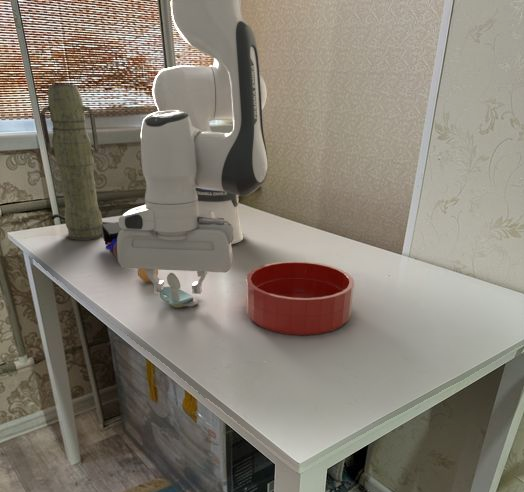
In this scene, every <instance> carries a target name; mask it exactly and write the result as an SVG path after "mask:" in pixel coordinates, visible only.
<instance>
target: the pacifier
mask: <svg viewBox="0 0 524 492" xmlns="http://www.w3.org/2000/svg"><path fill="white" fill-rule="evenodd" d="M166 281H167V282H166V283H167V284H168V286H164V291H163V292H158V293H159V298H160V299H161V300H162V301H164V302H166V303H169V305H170V306H172V307H173V308H183V307H194V306H196V305H198V304H199V300H198V298H197V296H194V295H193V294H190V293H188V292H185V291H184V290H181V283H180V280H179V278H178V276H177V275H176V274H175V273H174V272H169V274H167V277H166Z"/></svg>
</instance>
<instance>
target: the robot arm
mask: <svg viewBox="0 0 524 492" xmlns="http://www.w3.org/2000/svg"><path fill="white" fill-rule="evenodd" d="M170 8H171V16H172V21H173V24H174V27H175V29H176V30H177V32H178V33H179V35H180V36H181V37H182V39H183V40H184V41H185V42H186V43H187V44H189V46H191V47H192V48H194V49H195V50H197V51H199V52H201V53H202V54H204V55H206V56H209V57H210V58H212V59H213V60H214V61H213V64H212V65H176V66H172V67H167V68H163V69H161V70H160V71H159V72H158V73H157V75H156V77H155V78H154V81H153V86H152V97H153V101H154V104H155V106H156V107H157V110H158V111H155V112H152V113H149V114H148V115H147V116H145V117H144V118H143V120H142V123H141V131H140V161H141V170H142V171H141V172H142V175H143V178H144V181H145V193H144V204H143V205H140V206H136V207H132V208H131V209H129V210H126V211H125V212H124V213H123V214H121V215H120V217H119V218H118V222H119V226H120V228H121V229H122V230H121V231H120V232H119V234H118V237H117V257H118V258H117V257H116V258H117V262H118V264H119V265H120V266H121V268H123V269H133V270H134V269H135V270H136V269H137V270H138V269H146V274H147V276H148V277H149V279H150V280H151V281H152V282H151V283H152V284H153V291H154V293H159V292H163V291H164V287H165V280H161V279H160V278H159V277H158V276H157V275H156V274H155V272H156V271H157V270H158V271H161V270H162V271H183V272H196V273H197V274H196V275H197V277H200V278H199V279H198V281H193V283H192V284H191V289H192V291H191V292H192V295H193V294H194V295H195V294H196V295H201V294H202V291H203V282H204V280H205V278H206V277H207V274H208V273H227V272H229V271H230V270H231V268H232V267H233V264H234V257H233V248H232V245H235V244H237V243H240V242H242V241H243V239H244V236H243V233H242V228H241V224H240V217H239V211H238V205H239V203H240V202H239V199H240V198H239V197H240V196H241V197H248V196H249V195H251V194H252V193H254V192H255V191H257V190H258V189H260V187H261V186H262V185H263V184H264V182H265V181H266V178H267V176H268V171H269V169H268V168H269V167H268V166H269V163H268V162H269V160H268V152H267V146H266V139H265V133H264V123H263V122H264V120H263V110H264V107H265V105H266V102H267V98H268V97H267V95H268V89H267V85H266V82H265V80H264V77H263V76H262V74H261V73H260V61H259V59H260V58H259V50H258V45H257V39H256V36H255V33H254V31H253V29H252V27H251V26H250V25H248V24H247V23H246V22H245V20H244V17H243V14H242V0H170ZM211 121H232V124H233V127H232V129H231V131H230V132H224V131H223V132H222V131H212V129H211V126H210V122H211ZM56 218H59V219H61V220H62V221H63V220H64V221H65V215H61V214H58V213H55V214H53V215H52V216H51V217H50V220H55V219H56ZM102 223H103V224H107V223H114V222H113V221H111V222H110V221H102Z"/></svg>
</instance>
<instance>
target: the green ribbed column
mask: <svg viewBox="0 0 524 492" xmlns="http://www.w3.org/2000/svg"><path fill="white" fill-rule="evenodd" d="M47 104H48V105H47V106H46V107H43V108H42V110H41V112H40V113H39V116H40V122H41V126H42V130H43V135H44V140H45V145H46V147H45V148H46V152H47V153H48V154H50V155H51V156H53V157H54V161H55V166H56V168H58V172H59V177H60V184H61V190H62V195H63V202H64V206H65V207H64V215H63V216H64V217H65V220H64V222H65V226H66V228H67V233H68V238H69V239H71V240H75V241H88V240H94V239H99V238H101V237H103V236H102V232H101V227H102V224H103V223H102V222H103V217H102V212H101V210H100V208H99V204H98V197H97V189H96V183H95V175H94V165H95V161H94V155H95V154H99V142H98V135H97V127H96V119H95V113H94V111H93V110H92V109H91V108H90V106H85V105H84V101H83V97H82V95H81V92H80V91H79V87H78V86H77V85H75V84H74V83H51V85H49V86H48V92H47ZM47 111H48V112H49V115H50V121H51V122H52V123H51V124H52V133H53V134H52V140H51V141H50V136H49V130H48V124H47V118H46V113H47ZM87 111H88V113H89V117H90V126H91V132H92V140H93V145H92V141H91V137H90V136H89V134H88V130H87V127H86V122H85V121H86V114H85V112H87ZM51 143H52V147H51Z"/></svg>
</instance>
